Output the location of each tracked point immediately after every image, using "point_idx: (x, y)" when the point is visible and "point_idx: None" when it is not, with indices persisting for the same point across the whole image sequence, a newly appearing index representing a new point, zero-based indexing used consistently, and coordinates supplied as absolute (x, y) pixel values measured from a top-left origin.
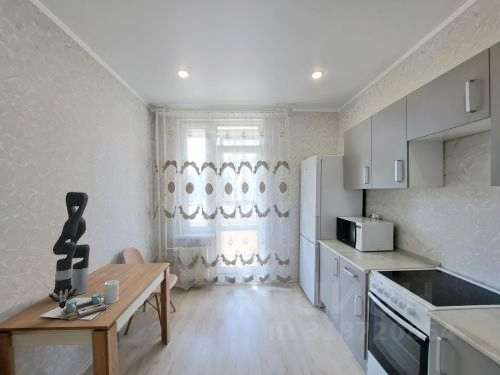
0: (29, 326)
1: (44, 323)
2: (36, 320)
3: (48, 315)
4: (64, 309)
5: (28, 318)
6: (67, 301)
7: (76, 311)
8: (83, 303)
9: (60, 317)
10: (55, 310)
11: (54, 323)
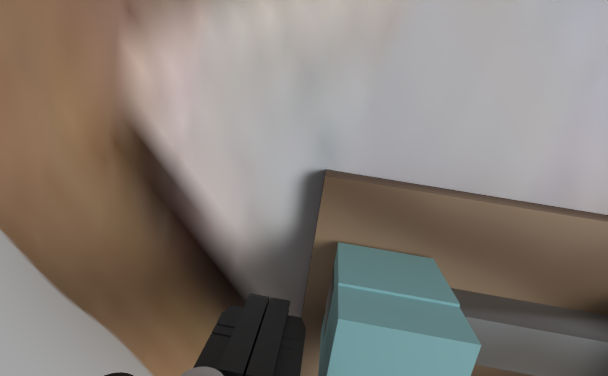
0: (21, 249)
1: (125, 300)
2: (76, 165)
3: (185, 139)
4: (337, 193)
5: (10, 24)
6: (349, 331)
7: None
8: (538, 347)
9: None
10: (280, 47)
11: None
